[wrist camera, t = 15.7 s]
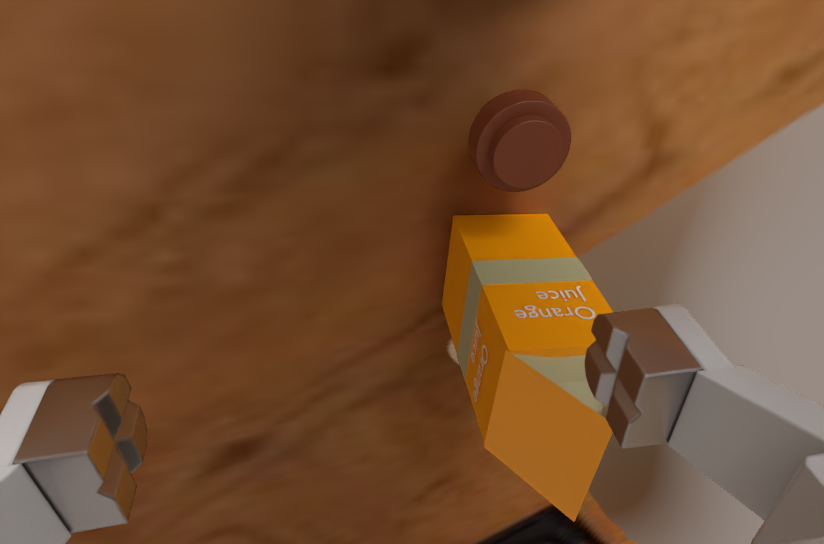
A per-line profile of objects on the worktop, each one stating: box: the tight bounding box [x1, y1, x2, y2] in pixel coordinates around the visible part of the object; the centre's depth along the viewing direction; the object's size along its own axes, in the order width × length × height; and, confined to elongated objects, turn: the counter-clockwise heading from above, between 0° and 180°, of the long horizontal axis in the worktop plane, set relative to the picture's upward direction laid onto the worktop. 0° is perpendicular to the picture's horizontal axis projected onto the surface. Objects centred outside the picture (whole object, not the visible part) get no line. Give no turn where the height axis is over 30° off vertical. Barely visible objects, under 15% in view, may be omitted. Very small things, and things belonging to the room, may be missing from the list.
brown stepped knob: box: [469, 90, 571, 192], centre depth 37 cm, size 6×6×6 cm
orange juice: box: [442, 214, 613, 522], centre depth 39 cm, size 8×9×20 cm
